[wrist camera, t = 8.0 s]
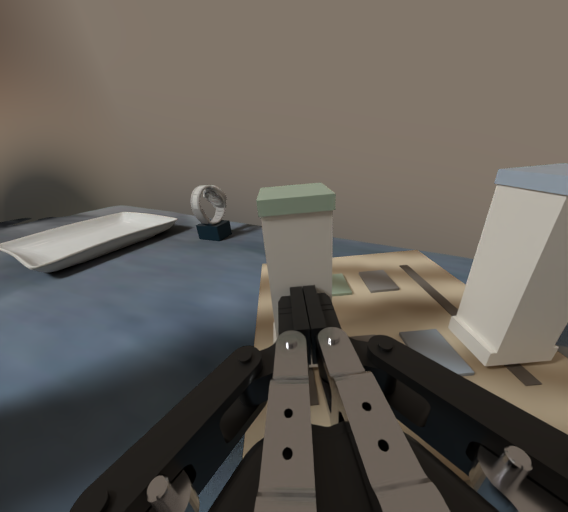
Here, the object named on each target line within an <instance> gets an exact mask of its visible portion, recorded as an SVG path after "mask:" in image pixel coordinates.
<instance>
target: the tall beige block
mask: <svg viewBox="0 0 568 512" xmlns="http://www.w3.org/2000/svg"><path fill="white" fill-rule="evenodd" d="M335 196H336V194H335V193H334V192H332V190H330V189H329V188H328V187H326V186H325V185H324V184H322V183H311V184H299V185H289V186H277V187H267V188H260V191H259V194H258V197H257V200H256V201H257V209H258V216H259V217H261V223H262V230H263V238H264V246H265V253H266V261H267V269H268V276H269V284H270V292H271V300H272V307H273V315H274V322H273V344H274V343H275V342H276V340H277V338H278V301H279V300H280V298H281V296H290V287H297V286H308V285H315V287H316V291H317V293H326V294H327V295H328V296H329V297H330V299H331V301H332V240H333V210H335ZM302 290H303V289H302ZM310 367H318V364H312V358H311V365H309V368H310Z"/></svg>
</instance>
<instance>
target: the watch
mask: <svg viewBox="0 0 568 512" xmlns="http://www.w3.org/2000/svg"><path fill="white" fill-rule="evenodd" d="M202 192H204V193H203V194H204V195H203V196H204V198H206V199H207V200H208V201H209V202H210V203H212V205H213V206H214V207H215V208H216V213H215V216H214V218H213V219H212V220H210V219H209V218H208V217H207V216H206V214H205V212H204V211H203V209H201V206H200V203H199V202H200V196H201V193H202ZM226 198H227V197H226V195H225V193H224V192H223V191H222V190H221V189H220V188H218V187H216V186H214V185H207V186H198V187H196V188H195V189H194V190H193V192H192V195H191V207H192V211H193V213H194V215H195V216H196V218H197V219H198V220H199V221H200V222H201V224H198V225H196V227H197V231H198V234H199V238H200V239H204V240H214V241H221V240H222V239H224V238H226V237H228V236H229V235H231V234H232V232H231V227H230V222H229V221H226V220H222V218H223V216H224V213H225V208H226V200H227V199H226ZM223 210H224V211H223Z"/></svg>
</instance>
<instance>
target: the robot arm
mask: <svg viewBox="0 0 568 512" xmlns="http://www.w3.org/2000/svg"><path fill="white" fill-rule="evenodd" d="M302 289H303V290H302ZM311 358H312V364H318V369H319V381H320V385H321V388H322V392H323V396H324V399H325V403H326V407H327V410H328V414H329V418H330V423H331V426H329V427H325V426H320V425H315V424H311V411H310V395H309V379H308V378H309V365H311ZM267 401H268V404H267ZM266 404H267V414H266V423H265V433H264V438H262V439H261V440H260V441H258V442H257V443H256V444H255V445H254V446H253V447H252V448H251V449H250V450H249V451H248V452H247V453H246V455H245V456H244V458H243V459H242V461H241V462H240V464H239V465H238V467H237V468H236V470H235V471H234V473H233V474H232V476H231V477H230V479H229V480H228V482H227V483H226V485H225V486H224V488H223V489H222V491H221V492H220V494H219V495H218V497H217V499H216V500H215V502H214V503H213V505H212V506H211V508H210V509H209V511H208V512H568V435H567V434H566V433H564V432H562V431H560V430H558V429H557V428H555V427H553V426H551V425H549V424H548V423H546V422H544V421H542V420H540V419H539V418H537V417H535V416H533V415H531V414H529V413H528V412H526V411H524V410H522V409H520V408H519V407H517V406H515V405H513V404H511V403H510V402H508V401H506V400H504V399H502V398H500V397H499V396H497V395H495V394H493V393H491V392H490V391H488V390H486V389H484V388H482V387H481V386H479V385H477V384H475V383H473V382H471V381H470V380H468V379H466V378H464V377H462V376H461V375H459V374H457V373H455V372H453V371H452V370H450V369H448V368H446V367H444V366H442V365H441V364H439V363H437V362H435V361H433V360H432V359H430V358H428V357H426V356H424V355H423V354H421V353H419V352H417V351H415V350H413V349H412V348H410V347H408V346H406V345H404V344H403V343H401V342H399V341H397V340H395V339H394V338H392V337H389V336H386V335H375V336H373V337H371V338H370V339H369V341H368V342H366V341H360V340H355V339H353V338H350V337H349V336H348V335H347V334H346V333H345V332H344V331H343V330H342V329H341V326H340V323H339V321H338V318H337V315H336V312H335V310H334V307H333V305H332V301H331V299H330V297H329V296H328V295H327V294H326V293H317V291H316V287H315V285H308V286H297V287H290V296H281V298H280V300H279V301H278V338H277V340H276V342H275V343H274V344H273V345H272V346H270V347H268V348H266V349H263V350H260V351H259V350H258V349H257V348H256V347H254V346H243V347H240V348H238V349H237V350H235V351H234V352H233V353H232V354H231V355H230V356H229V357H228V358H227V359H226V360H224V361H223V362H222V363H221V364H220V365H219V366H218V367H217V368H216V369H215V370H214V371H213V372H212V373H210V374H209V375H208V376H207V377H206V378H205V379H204V380H203V381H202V382H201V383H200V384H199V385H198V386H196V387H195V388H194V389H193V390H192V391H191V392H190V393H189V394H188V395H187V396H186V397H185V398H184V399H182V400H181V401H180V402H179V403H178V404H177V405H176V406H175V407H174V408H173V409H172V410H171V411H170V412H168V413H167V414H166V415H165V416H164V417H163V418H162V419H161V420H160V421H159V422H158V423H157V424H156V425H155V426H153V427H152V428H151V429H150V430H149V431H148V432H147V433H146V434H145V435H144V436H143V437H142V438H141V439H139V440H138V441H137V442H136V443H135V444H134V445H133V446H132V447H131V448H130V449H129V450H128V451H127V452H125V453H124V454H123V455H122V456H121V457H120V458H119V459H118V460H117V461H116V462H115V463H114V464H113V465H111V466H110V467H109V468H108V469H107V470H106V471H105V472H104V473H103V474H102V475H101V476H100V477H99V478H97V479H96V480H95V481H94V482H93V483H92V484H91V485H90V486H89V487H88V488H87V489H86V490H85V491H84V492H83V493H82V494H81V495H80V497H79V498H78V499H77V501H76V502H75V504H74V505H73V507H72V508H71V510H70V512H199V497H198V495H199V494H200V492H201V491H202V490H203V488H204V487H205V486H206V484H207V483H208V482H209V480H210V479H211V478H212V476H213V475H214V474H215V472H216V471H217V470H218V468H219V467H220V466H221V464H222V463H223V462H224V460H225V459H226V458H227V456H228V455H229V454H230V452H231V451H232V450H233V448H234V447H235V446H236V444H237V443H238V442H239V440H240V439H241V438H242V436H243V435H244V434H245V432H246V431H247V430H248V428H249V427H250V426H251V424H252V423H253V422H254V420H255V419H256V418H257V416H258V415H259V414H260V412H261V411H262V410H263V408H264V407H265V406H266ZM397 420H399V421H400V422H401V423H402V424H404V425H405V426H406V427H407V428H409V429H410V430H411V431H412V432H414V433H415V434H416V435H417V436H419V437H420V438H421V439H422V440H424V441H425V442H426V443H427V444H429V445H430V446H431V447H432V448H434V449H435V450H436V451H437V452H439V453H440V454H441V455H442V456H444V457H445V458H446V459H447V460H449V461H450V462H451V463H452V464H454V465H455V466H456V467H457V468H459V469H460V470H461V471H462V472H464V473H465V474H466V475H467V476H469V478H470V481H471V484H472V486H473V488H474V489H473V488H472V487H471V486H469V485H468V484H467V483H466V482H465V481H464V480H462V479H461V478H460V477H459V476H458V475H457V474H455V473H454V472H453V471H452V470H451V469H450V468H448V467H447V466H446V465H445V464H444V463H443V462H441V461H440V460H439V459H438V458H437V457H436V456H434V455H433V454H432V453H431V452H430V451H429V450H427V449H426V448H425V447H424V446H423V445H422V444H420V443H419V442H418V441H417V440H415V439H414V438H413V437H411V436H410V435H408V434H407V433H405V432H403V431H402V429H401V427H400V425H399V423H398V421H397Z"/></svg>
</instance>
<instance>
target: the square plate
mask: <svg viewBox="0 0 568 512" xmlns="http://www.w3.org/2000/svg"><path fill="white" fill-rule="evenodd" d="M177 220H178V219H177V218H172V217H166V216H160V215H154V214H145V213H134V212H121V213H117V214H112V215H108V216H104V217H99V218H95V219H90V220H86V221H82V222H78V223H74V224H70V225H66V226H62V227H58V228H54V229H51V230H47V231H44V232H40V233H37V234H33V235H30V236H26V237H23V238H19V239H16V240H12V241H8V242H5V243H1V244H0V251H3V252H5V253H8V254H10V255H12V256H13V257H14V258H16V259H17V260H18V261H19V262H21V263H22V264H23V265H24V266H26V267H27V268H29V269H31V270H35V271H38V272H44V273H47V272H54V271H58V270H61V269H64V268H67V267H70V266H74V265H77V264H80V263H83V262H86V261H89V260H91V259H94V258H97V257H99V256H102V255H105V254H107V253H110V252H113V251H116V250H118V249H121V248H124V247H126V246H129V245H132V244H135V243H137V242H140V241H143V240H146V239H148V238H151V237H153V236H154V235H156V234H159V233H161V232H163V231H166V230H168V229H169V228H170V227H172V226H173V225H174V223H175V222H176V221H177Z"/></svg>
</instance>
